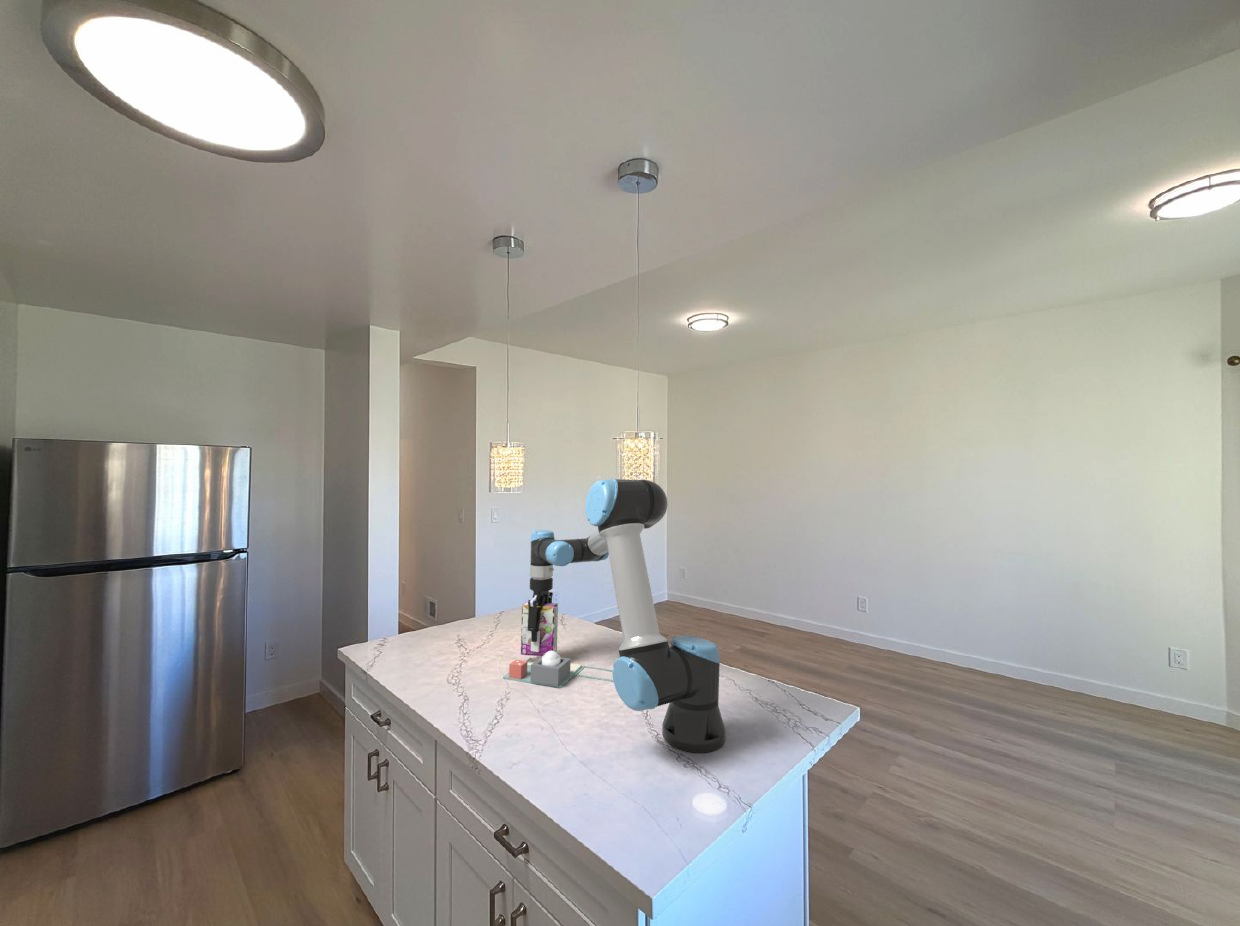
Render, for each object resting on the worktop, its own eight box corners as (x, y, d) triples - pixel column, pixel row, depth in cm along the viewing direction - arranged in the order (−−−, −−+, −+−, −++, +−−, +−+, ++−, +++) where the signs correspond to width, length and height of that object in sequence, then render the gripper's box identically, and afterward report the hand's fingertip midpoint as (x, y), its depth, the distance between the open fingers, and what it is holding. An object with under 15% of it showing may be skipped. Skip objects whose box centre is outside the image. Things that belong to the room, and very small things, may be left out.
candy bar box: (520, 655, 162) (521, 604, 162) (525, 650, 167) (526, 601, 167) (553, 657, 160) (554, 606, 161) (557, 652, 165) (558, 602, 166)
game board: (559, 688, 145) (559, 669, 145) (502, 679, 151) (502, 660, 151) (581, 667, 162) (582, 649, 162) (529, 659, 168) (530, 642, 168)
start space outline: (615, 681, 151) (615, 681, 151) (573, 675, 155) (573, 674, 155) (623, 672, 159) (623, 671, 159) (583, 666, 163) (583, 665, 163)
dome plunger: (555, 676, 148) (555, 655, 148) (538, 673, 149) (538, 652, 150) (563, 669, 153) (563, 649, 153) (546, 666, 155) (547, 646, 155)
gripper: (538, 583, 154) (536, 659, 154) (563, 573, 172) (561, 640, 171) (517, 581, 156) (515, 655, 156) (543, 571, 174) (541, 638, 174)
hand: (539, 647), depth 164 cm, fingers closed on candy bar box, 5 cm apart
